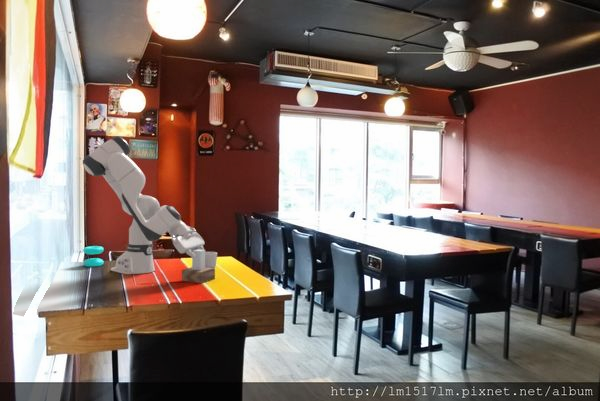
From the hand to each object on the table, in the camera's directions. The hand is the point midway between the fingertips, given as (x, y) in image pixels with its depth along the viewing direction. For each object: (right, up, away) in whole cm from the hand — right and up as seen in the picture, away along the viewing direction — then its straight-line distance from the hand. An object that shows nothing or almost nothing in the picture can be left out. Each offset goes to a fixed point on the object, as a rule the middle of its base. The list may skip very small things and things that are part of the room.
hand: (199, 255), depth 217 cm
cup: (-2, -10, +29) cm, 31 cm away
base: (-1, -11, +1) cm, 11 cm away
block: (-1, -6, +1) cm, 6 cm away
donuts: (-64, -9, +29) cm, 71 cm away
